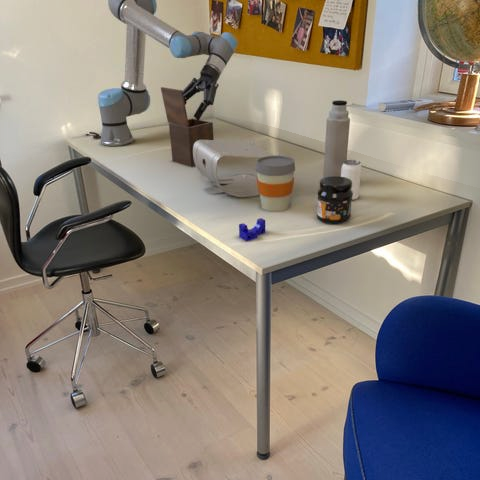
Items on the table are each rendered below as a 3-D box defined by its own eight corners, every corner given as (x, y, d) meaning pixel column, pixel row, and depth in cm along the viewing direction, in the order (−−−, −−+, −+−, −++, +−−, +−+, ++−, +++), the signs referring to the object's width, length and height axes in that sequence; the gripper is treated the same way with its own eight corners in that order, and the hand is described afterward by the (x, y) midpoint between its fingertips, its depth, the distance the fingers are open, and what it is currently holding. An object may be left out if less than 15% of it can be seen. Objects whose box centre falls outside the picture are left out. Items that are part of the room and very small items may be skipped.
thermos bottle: (325, 178, 196) (330, 98, 181) (346, 179, 193) (353, 99, 178) (321, 184, 189) (325, 102, 174) (342, 186, 187) (349, 103, 172)
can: (354, 202, 173) (357, 166, 167) (336, 198, 176) (338, 163, 170) (361, 196, 178) (364, 161, 171) (343, 193, 181) (346, 158, 174)
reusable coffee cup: (266, 215, 165) (266, 168, 157) (250, 203, 175) (249, 158, 167) (300, 209, 169) (302, 163, 161) (283, 197, 179) (283, 153, 171)
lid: (162, 87, 204) (160, 87, 204) (182, 90, 196) (180, 90, 196) (169, 122, 213) (167, 122, 212) (189, 126, 205) (187, 127, 204)
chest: (195, 154, 228) (192, 118, 220) (214, 160, 220) (212, 122, 212) (172, 161, 221) (168, 123, 213) (191, 166, 213) (188, 127, 205)
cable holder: (246, 241, 149) (245, 228, 147) (239, 237, 151) (238, 224, 149) (268, 234, 153) (268, 221, 150) (261, 230, 155) (261, 218, 153)
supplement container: (310, 221, 160) (312, 183, 153) (324, 210, 167) (326, 173, 161) (342, 227, 155) (346, 188, 149) (355, 216, 163) (359, 178, 156)
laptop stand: (194, 182, 196) (191, 140, 187) (251, 173, 203) (250, 132, 195) (218, 203, 176) (216, 157, 168) (280, 192, 183) (281, 147, 175)
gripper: (237, 79, 206) (211, 126, 205) (198, 74, 220) (173, 117, 220) (227, 65, 200) (199, 114, 199) (188, 61, 215) (162, 106, 214)
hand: (186, 116), depth 210 cm, fingers open, 12 cm apart
